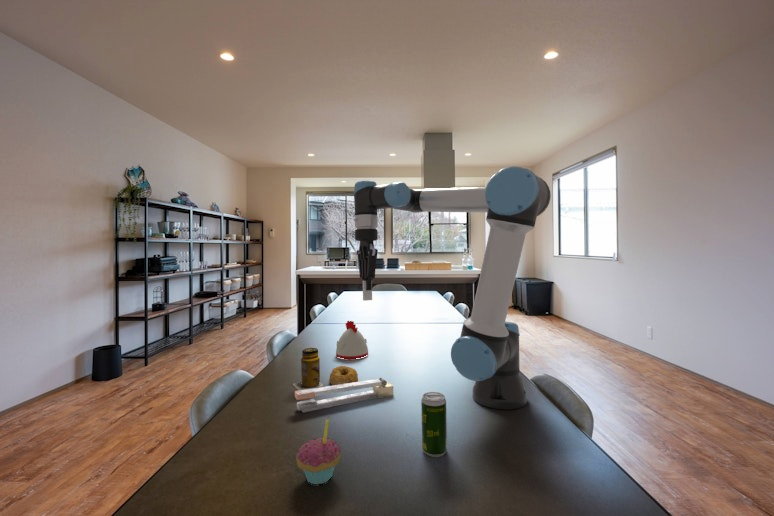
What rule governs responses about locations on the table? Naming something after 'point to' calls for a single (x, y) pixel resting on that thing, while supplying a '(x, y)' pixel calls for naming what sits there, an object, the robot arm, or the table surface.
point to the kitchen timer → (351, 343)
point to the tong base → (346, 398)
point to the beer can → (434, 424)
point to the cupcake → (319, 458)
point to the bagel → (343, 375)
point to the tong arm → (338, 388)
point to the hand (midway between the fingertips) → (367, 299)
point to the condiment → (309, 370)
